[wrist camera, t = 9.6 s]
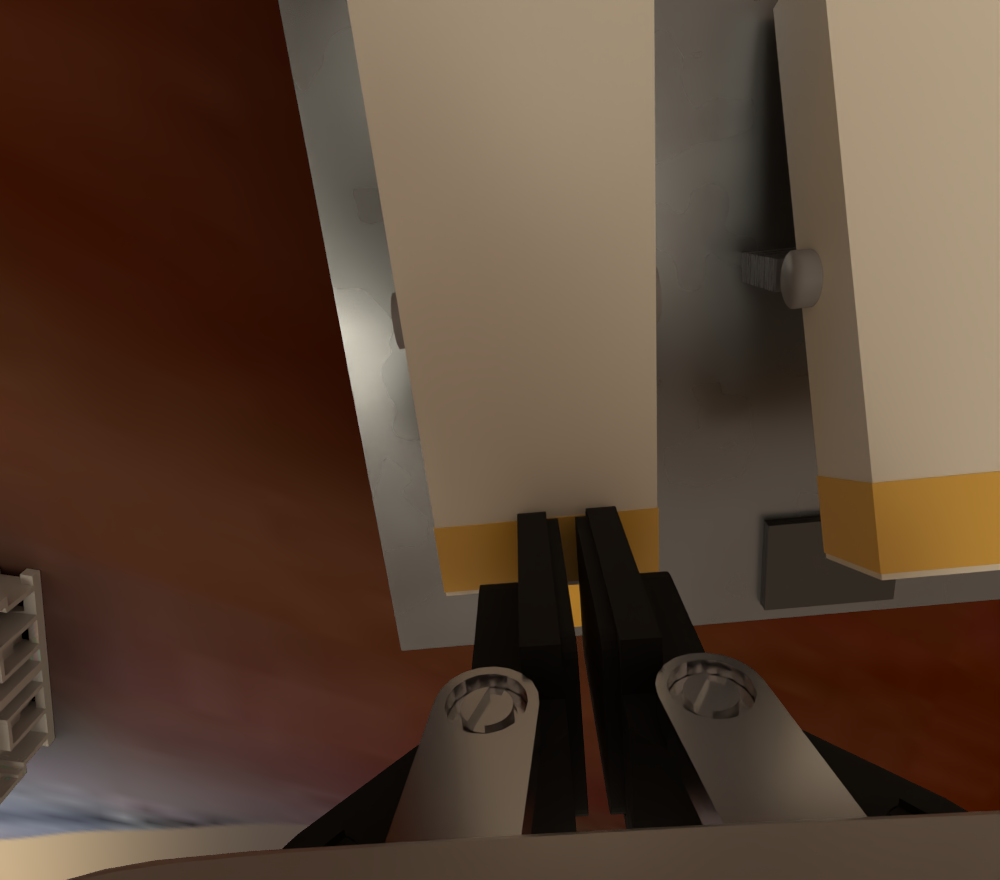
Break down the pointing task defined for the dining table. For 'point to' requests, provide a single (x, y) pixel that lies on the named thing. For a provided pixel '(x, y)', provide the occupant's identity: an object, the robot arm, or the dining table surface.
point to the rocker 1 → (521, 261)
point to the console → (679, 336)
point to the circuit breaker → (22, 677)
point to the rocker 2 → (898, 273)
